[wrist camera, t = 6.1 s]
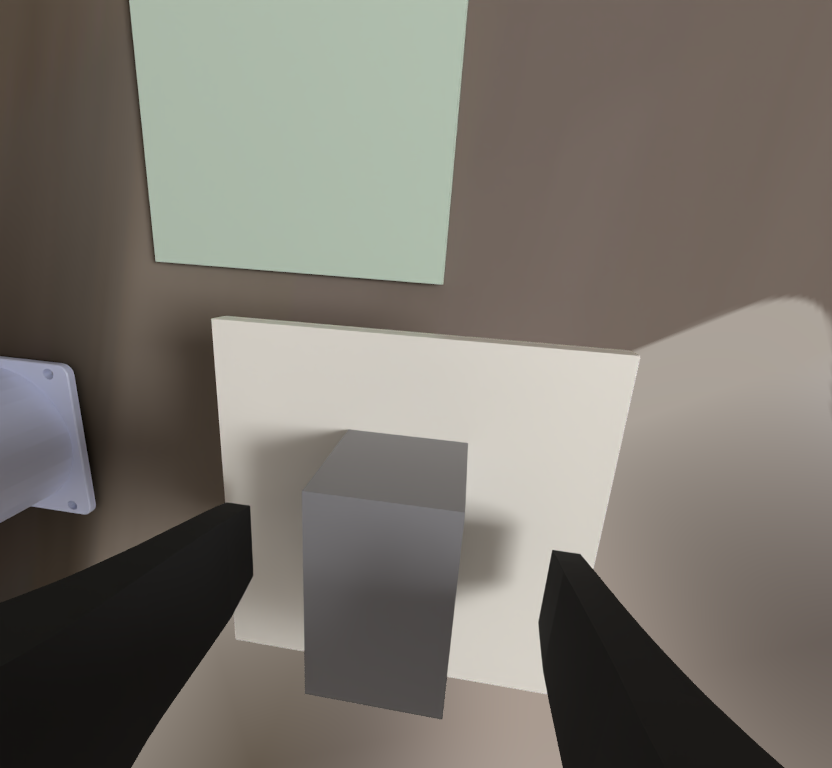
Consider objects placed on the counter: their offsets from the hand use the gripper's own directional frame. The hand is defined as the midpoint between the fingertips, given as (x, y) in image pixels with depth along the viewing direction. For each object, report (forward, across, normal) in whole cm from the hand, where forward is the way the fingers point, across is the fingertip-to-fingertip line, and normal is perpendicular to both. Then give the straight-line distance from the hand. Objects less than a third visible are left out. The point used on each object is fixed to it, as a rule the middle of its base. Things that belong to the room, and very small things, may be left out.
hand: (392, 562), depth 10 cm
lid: (+2, 0, 0) cm, 2 cm away
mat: (+9, +6, -12) cm, 16 cm away
